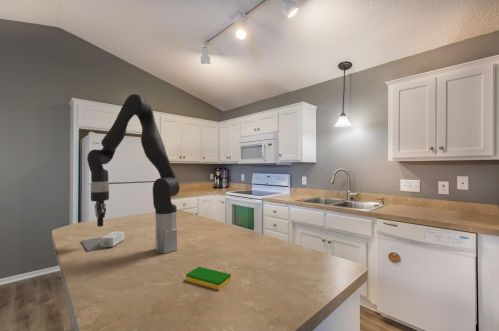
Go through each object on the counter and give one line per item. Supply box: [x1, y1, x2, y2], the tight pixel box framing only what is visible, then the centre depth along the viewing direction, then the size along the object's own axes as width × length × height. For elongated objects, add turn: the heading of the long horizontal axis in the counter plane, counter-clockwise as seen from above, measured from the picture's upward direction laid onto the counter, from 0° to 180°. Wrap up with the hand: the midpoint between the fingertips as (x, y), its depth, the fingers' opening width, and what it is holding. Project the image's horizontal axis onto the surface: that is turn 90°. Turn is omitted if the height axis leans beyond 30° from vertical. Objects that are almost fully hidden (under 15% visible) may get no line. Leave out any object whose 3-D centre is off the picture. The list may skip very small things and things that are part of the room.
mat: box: [80, 236, 118, 252], centre depth 117 cm, size 19×12×1 cm, turn 43°
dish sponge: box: [185, 266, 232, 291], centre depth 78 cm, size 7×14×2 cm, turn 63°
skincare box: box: [100, 230, 125, 248], centre depth 116 cm, size 6×4×12 cm
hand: (100, 226), depth 114 cm, fingers closed
